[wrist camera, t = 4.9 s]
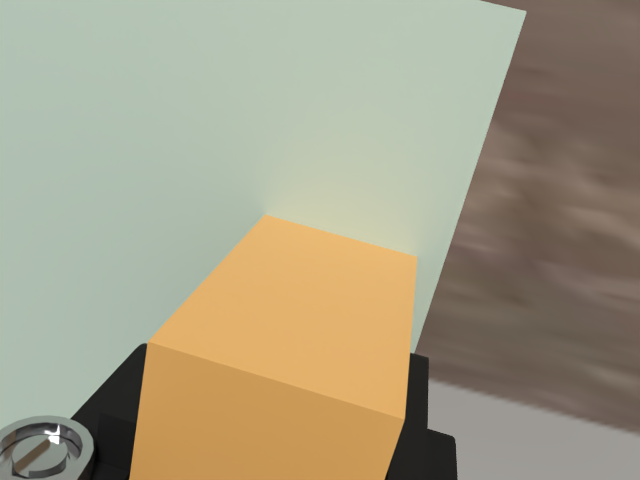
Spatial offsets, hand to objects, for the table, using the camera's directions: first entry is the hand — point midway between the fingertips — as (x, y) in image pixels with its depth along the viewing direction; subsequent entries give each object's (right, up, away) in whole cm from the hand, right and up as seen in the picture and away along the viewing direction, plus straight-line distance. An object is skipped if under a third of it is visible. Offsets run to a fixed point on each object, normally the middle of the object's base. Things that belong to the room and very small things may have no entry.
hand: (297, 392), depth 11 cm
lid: (-4, +2, +3) cm, 5 cm away
